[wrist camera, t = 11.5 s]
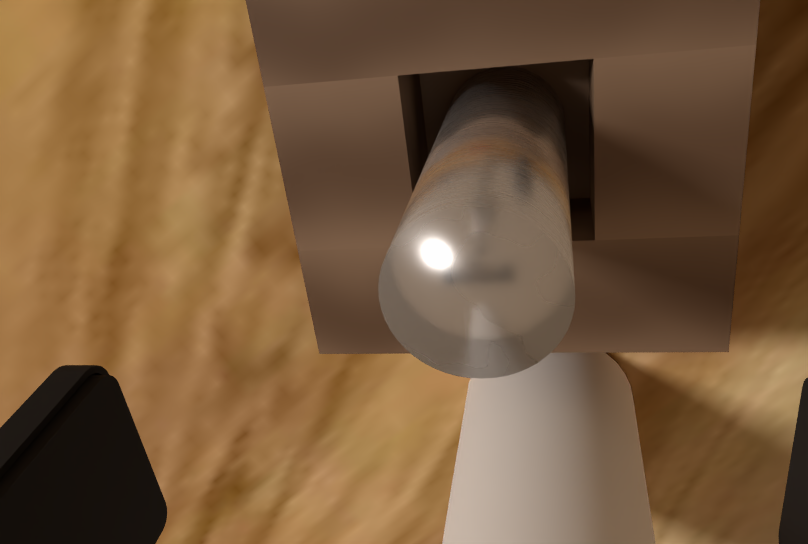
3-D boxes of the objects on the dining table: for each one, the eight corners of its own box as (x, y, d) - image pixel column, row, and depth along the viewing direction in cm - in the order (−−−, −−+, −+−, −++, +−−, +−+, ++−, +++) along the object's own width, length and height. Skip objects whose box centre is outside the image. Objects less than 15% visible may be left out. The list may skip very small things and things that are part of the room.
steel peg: (442, 71, 25) (365, 211, 15) (563, 61, 24) (573, 202, 14) (452, 182, 27) (391, 378, 16) (565, 176, 26) (576, 379, 16)
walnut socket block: (287, -74, 25) (233, -63, 21) (729, -133, 22) (772, -134, 18) (351, 287, 31) (319, 353, 27) (701, 279, 29) (728, 351, 24)
